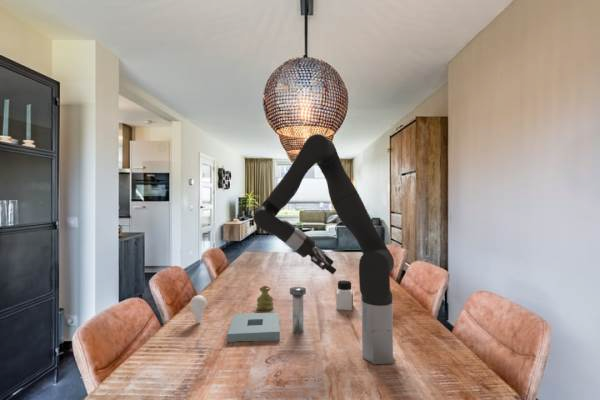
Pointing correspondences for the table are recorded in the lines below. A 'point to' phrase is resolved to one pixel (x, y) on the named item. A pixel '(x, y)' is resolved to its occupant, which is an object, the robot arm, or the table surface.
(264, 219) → the robot arm
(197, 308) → the lightbulb
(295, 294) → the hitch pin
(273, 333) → the socket board
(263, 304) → the brass weight
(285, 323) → the table surface
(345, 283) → the medicine bottle
